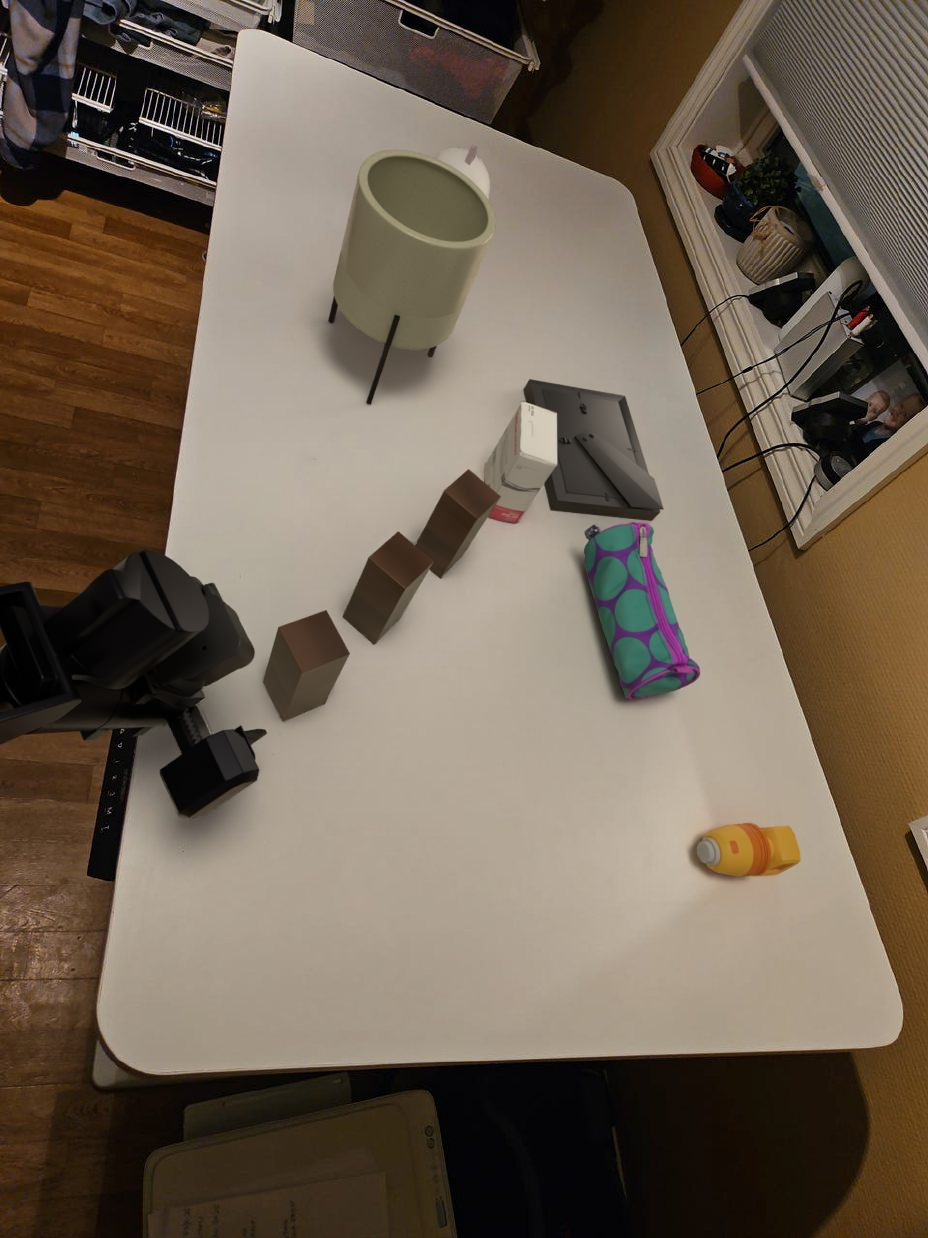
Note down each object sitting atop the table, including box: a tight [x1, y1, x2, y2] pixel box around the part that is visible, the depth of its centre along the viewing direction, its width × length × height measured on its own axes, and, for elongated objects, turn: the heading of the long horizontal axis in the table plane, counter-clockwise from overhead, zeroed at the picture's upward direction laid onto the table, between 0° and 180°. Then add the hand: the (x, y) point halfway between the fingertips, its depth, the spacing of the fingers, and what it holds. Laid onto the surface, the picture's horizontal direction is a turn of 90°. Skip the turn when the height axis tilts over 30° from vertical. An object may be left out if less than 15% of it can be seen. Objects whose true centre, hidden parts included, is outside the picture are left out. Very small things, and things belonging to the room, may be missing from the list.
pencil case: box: [583, 521, 701, 700], centre depth 84 cm, size 21×9×10 cm, turn 11°
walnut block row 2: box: [414, 469, 501, 579], centre depth 79 cm, size 4×4×12 cm
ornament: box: [432, 144, 491, 199], centre depth 110 cm, size 10×10×12 cm
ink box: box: [483, 401, 557, 524], centre depth 87 cm, size 9×5×12 cm, turn 176°
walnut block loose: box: [262, 609, 351, 722], centre depth 65 cm, size 4×4×12 cm
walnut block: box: [342, 530, 434, 645], centre depth 72 cm, size 4×4×12 cm
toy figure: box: [696, 822, 801, 877], centre depth 77 cm, size 5×6×12 cm
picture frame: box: [523, 378, 665, 521], centre depth 99 cm, size 16×3×21 cm
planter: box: [327, 149, 497, 405], centre depth 85 cm, size 15×16×23 cm
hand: (238, 686), depth 60 cm, fingers open, 9 cm apart
